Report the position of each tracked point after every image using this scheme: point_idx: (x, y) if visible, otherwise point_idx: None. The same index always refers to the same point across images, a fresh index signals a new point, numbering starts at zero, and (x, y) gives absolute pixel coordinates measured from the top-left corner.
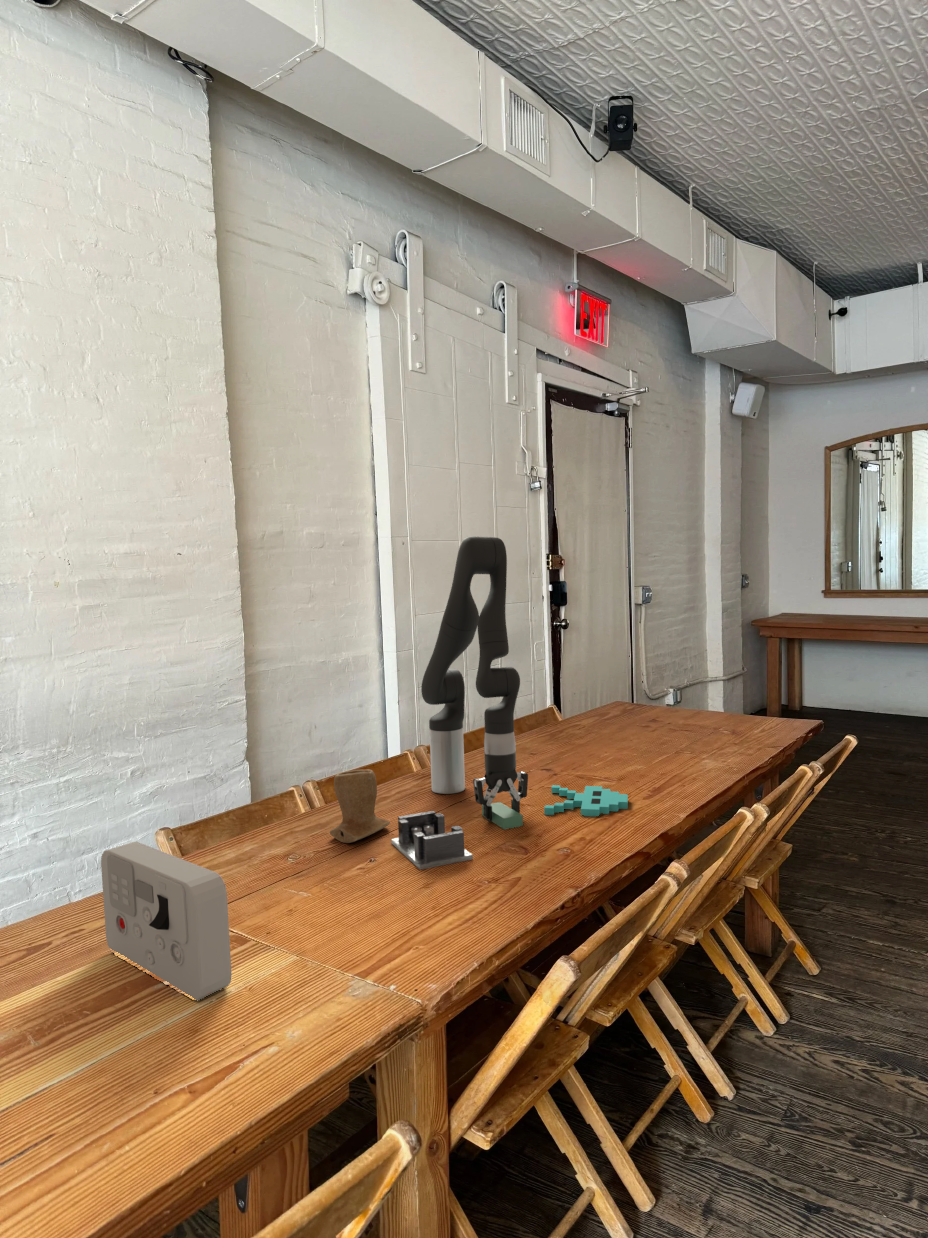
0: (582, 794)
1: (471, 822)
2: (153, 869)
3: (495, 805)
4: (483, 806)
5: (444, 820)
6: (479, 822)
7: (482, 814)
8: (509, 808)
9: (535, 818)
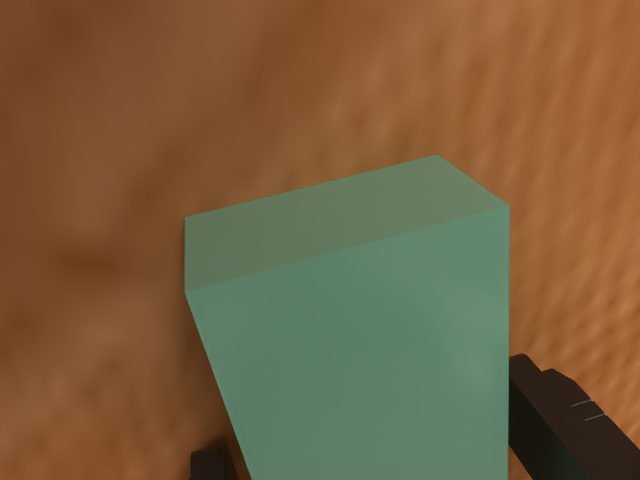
0: None
1: (17, 418)
2: None
3: (385, 344)
4: (201, 334)
5: None
6: (116, 426)
7: (187, 231)
8: (492, 465)
9: (629, 389)
